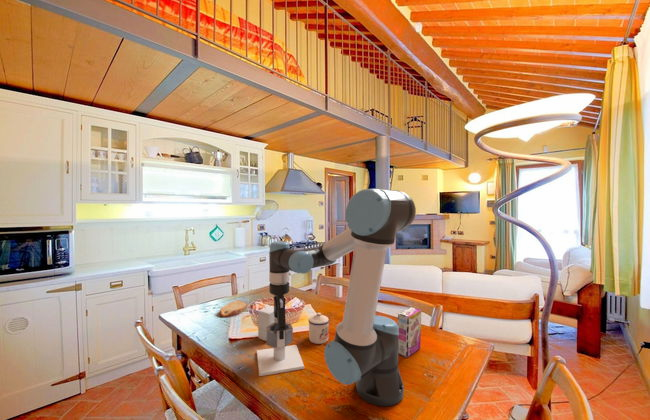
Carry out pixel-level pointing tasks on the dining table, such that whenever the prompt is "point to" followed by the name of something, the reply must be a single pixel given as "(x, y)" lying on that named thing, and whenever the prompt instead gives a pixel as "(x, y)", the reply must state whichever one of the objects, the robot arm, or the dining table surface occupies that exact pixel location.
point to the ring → (272, 334)
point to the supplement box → (265, 320)
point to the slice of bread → (232, 309)
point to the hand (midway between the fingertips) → (279, 340)
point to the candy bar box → (409, 331)
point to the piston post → (279, 360)
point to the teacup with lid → (318, 328)
